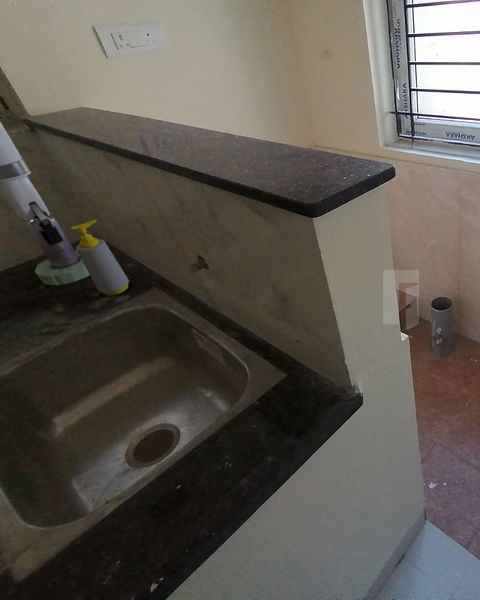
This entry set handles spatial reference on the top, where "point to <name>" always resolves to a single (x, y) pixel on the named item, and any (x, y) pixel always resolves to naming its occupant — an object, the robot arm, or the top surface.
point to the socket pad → (61, 273)
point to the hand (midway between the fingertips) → (51, 238)
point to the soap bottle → (100, 262)
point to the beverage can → (55, 246)
